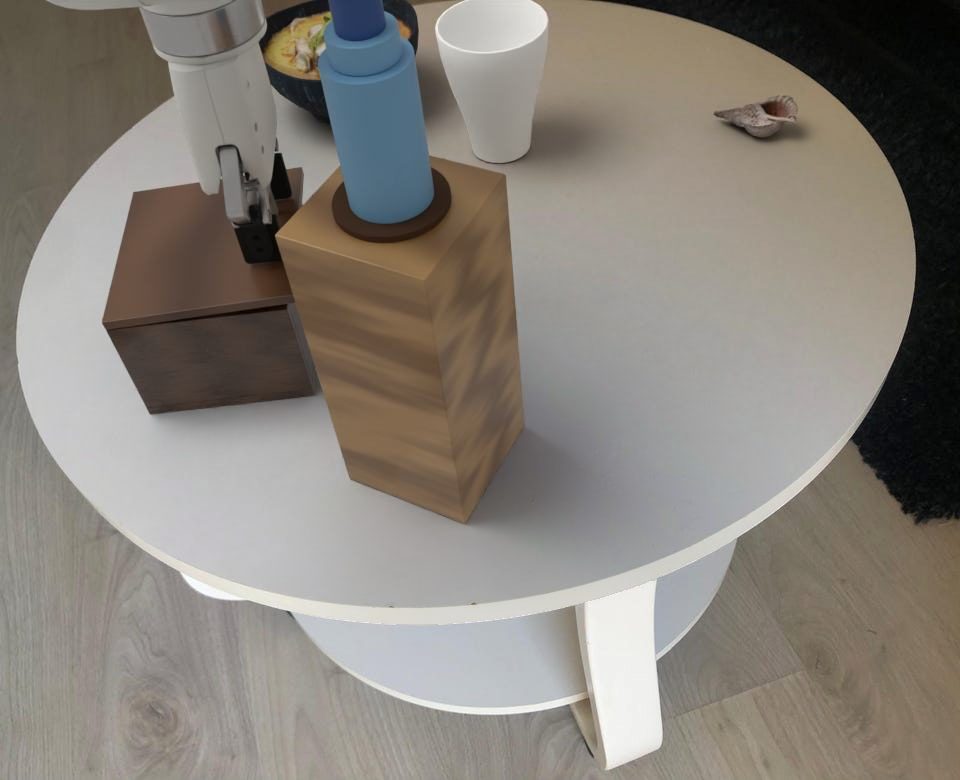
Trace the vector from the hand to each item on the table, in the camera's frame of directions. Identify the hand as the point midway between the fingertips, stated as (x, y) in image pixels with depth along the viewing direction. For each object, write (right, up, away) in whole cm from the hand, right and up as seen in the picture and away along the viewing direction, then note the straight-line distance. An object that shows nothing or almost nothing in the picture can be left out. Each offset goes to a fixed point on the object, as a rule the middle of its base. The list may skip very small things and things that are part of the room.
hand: (269, 226), depth 77 cm
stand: (+13, -18, -1) cm, 22 cm away
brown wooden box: (-4, -8, +9) cm, 13 cm away
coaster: (+11, -2, -19) cm, 22 cm away
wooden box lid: (-5, -1, +1) cm, 5 cm away
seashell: (+44, +13, +23) cm, 52 cm away
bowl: (+2, +18, +31) cm, 36 cm away
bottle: (+11, -2, -20) cm, 23 cm away
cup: (+19, +12, +24) cm, 33 cm away
